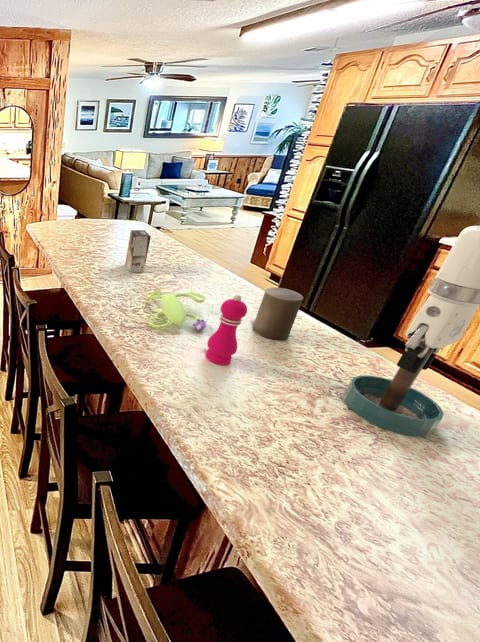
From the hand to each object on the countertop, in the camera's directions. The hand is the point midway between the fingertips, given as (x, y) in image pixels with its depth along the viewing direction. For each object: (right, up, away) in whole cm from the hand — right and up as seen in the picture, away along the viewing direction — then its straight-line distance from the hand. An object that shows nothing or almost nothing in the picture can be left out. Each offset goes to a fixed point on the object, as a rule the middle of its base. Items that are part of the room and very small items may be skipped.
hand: (411, 367), depth 83 cm
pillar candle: (-3, +4, +40) cm, 40 cm away
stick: (0, -10, +5) cm, 12 cm away
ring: (0, -13, +6) cm, 14 cm away
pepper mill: (-27, -3, +26) cm, 38 cm away
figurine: (-29, +9, +49) cm, 58 cm away
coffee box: (-29, +27, +87) cm, 96 cm away
